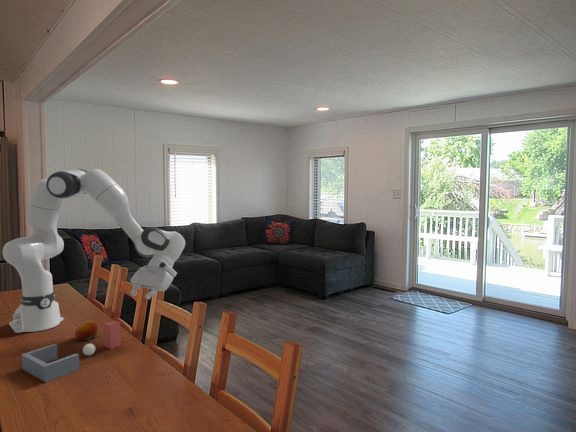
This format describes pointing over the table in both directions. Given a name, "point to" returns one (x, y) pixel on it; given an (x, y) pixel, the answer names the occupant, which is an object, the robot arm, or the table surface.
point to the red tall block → (112, 334)
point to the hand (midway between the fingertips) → (139, 296)
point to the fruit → (86, 330)
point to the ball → (89, 349)
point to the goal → (46, 372)
